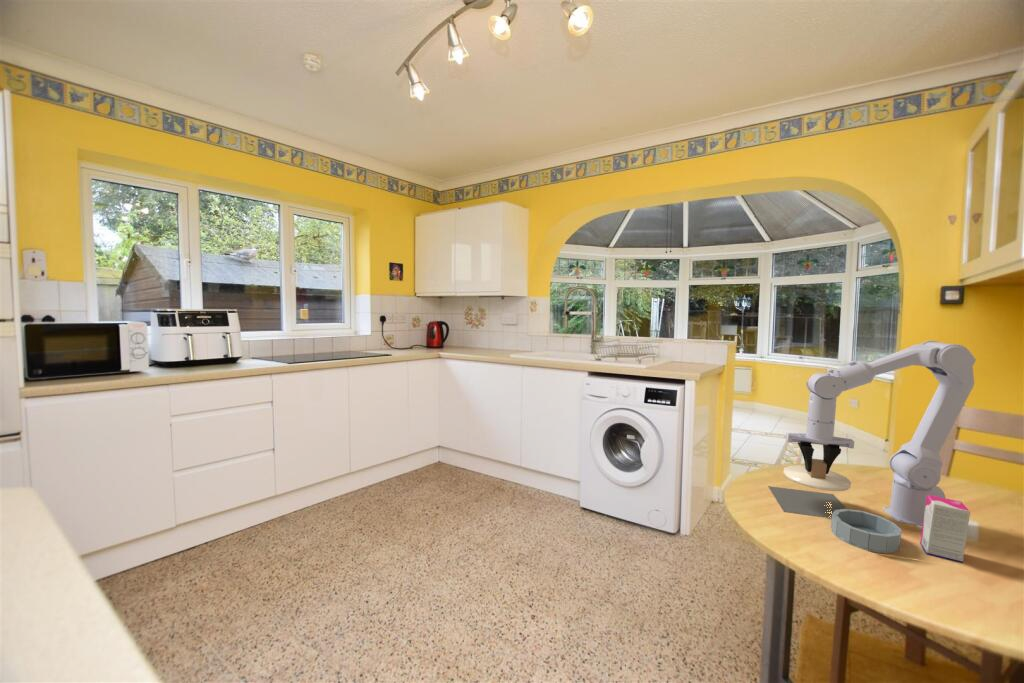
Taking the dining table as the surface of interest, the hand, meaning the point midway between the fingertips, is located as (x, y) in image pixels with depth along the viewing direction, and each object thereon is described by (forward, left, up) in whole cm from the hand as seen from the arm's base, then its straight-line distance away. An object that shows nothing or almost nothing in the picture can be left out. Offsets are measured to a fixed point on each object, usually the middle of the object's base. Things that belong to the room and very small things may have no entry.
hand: (816, 471), depth 115 cm
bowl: (-5, +15, -9) cm, 18 cm away
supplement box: (-19, +16, -10) cm, 27 cm away
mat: (+1, -1, -9) cm, 10 cm away
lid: (0, 0, -2) cm, 2 cm away
